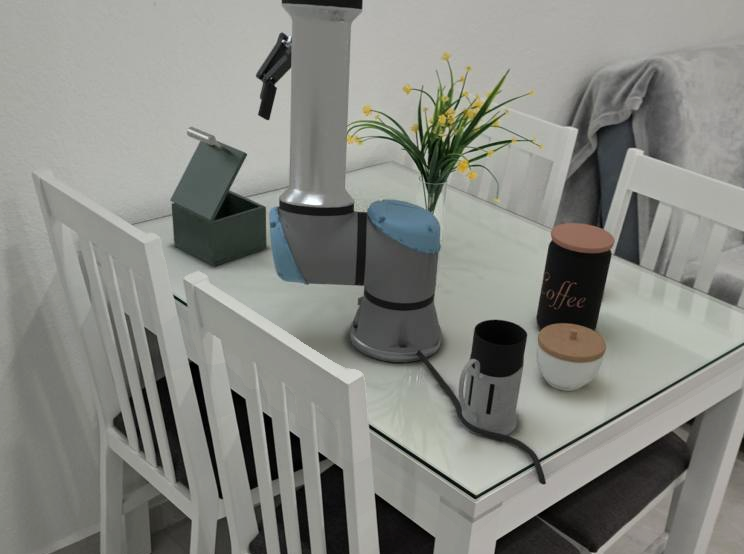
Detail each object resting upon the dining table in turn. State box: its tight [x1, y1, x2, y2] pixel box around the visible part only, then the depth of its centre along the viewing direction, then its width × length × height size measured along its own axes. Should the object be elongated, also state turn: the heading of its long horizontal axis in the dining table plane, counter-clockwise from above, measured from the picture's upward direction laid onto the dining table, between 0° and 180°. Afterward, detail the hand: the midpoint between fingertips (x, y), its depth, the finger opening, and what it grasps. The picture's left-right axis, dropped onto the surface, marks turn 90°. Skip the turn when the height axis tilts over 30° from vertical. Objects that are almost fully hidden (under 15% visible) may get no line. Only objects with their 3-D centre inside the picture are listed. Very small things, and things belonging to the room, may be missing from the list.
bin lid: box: [169, 126, 248, 221], centre depth 167 cm, size 14×12×7 cm
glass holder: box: [457, 319, 528, 437], centre depth 130 cm, size 9×14×15 cm, turn 146°
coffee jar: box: [535, 222, 615, 332], centre depth 157 cm, size 11×11×18 cm
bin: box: [171, 189, 267, 267], centre depth 177 cm, size 13×12×9 cm
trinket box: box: [536, 323, 607, 392], centre depth 145 cm, size 11×11×9 cm
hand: (291, 120), depth 173 cm, fingers open, 13 cm apart
